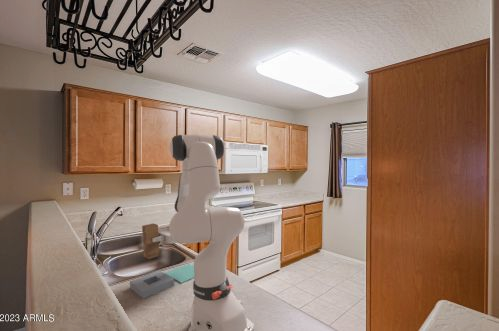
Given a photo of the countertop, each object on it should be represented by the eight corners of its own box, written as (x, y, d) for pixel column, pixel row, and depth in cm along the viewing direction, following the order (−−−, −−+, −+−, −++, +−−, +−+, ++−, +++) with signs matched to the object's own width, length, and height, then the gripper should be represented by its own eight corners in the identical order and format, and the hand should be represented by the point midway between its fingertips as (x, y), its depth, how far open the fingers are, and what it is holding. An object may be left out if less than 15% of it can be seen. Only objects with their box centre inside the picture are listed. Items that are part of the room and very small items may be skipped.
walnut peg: (159, 255, 109) (157, 224, 108) (148, 259, 105) (146, 227, 105) (154, 253, 112) (152, 223, 112) (143, 256, 108) (142, 225, 108)
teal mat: (206, 272, 120) (206, 271, 120) (181, 283, 110) (181, 282, 110) (188, 264, 131) (188, 263, 131) (164, 273, 121) (164, 273, 121)
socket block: (174, 285, 109) (174, 278, 109) (143, 299, 98) (142, 291, 98) (159, 276, 118) (159, 270, 118) (130, 288, 108) (129, 281, 108)
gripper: (165, 222, 125) (138, 228, 115) (187, 228, 111) (158, 235, 101) (166, 234, 125) (139, 241, 115) (188, 241, 111) (159, 250, 101)
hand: (148, 238), depth 108 cm, fingers closed on walnut peg, 5 cm apart
